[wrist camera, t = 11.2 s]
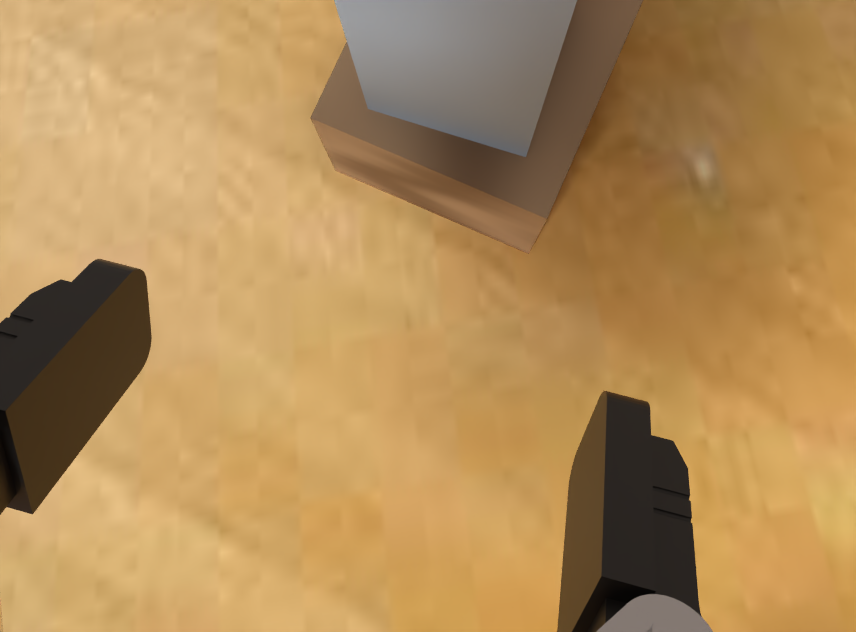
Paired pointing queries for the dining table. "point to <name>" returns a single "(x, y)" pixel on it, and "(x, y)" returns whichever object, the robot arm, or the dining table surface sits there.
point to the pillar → (458, 62)
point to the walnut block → (474, 162)
